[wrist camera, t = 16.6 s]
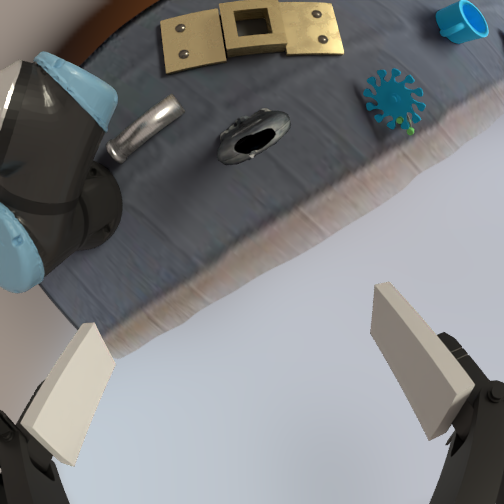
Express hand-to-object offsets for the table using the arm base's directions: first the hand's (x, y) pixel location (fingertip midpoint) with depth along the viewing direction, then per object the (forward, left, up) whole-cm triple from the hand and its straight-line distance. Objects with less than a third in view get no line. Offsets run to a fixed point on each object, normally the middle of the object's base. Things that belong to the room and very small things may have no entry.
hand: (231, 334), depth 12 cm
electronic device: (+3, +9, -33) cm, 34 cm away
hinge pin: (-6, +16, -31) cm, 35 cm away
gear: (+24, +12, -34) cm, 43 cm away
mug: (+45, +31, -33) cm, 64 cm away
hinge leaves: (+6, +26, -33) cm, 42 cm away
